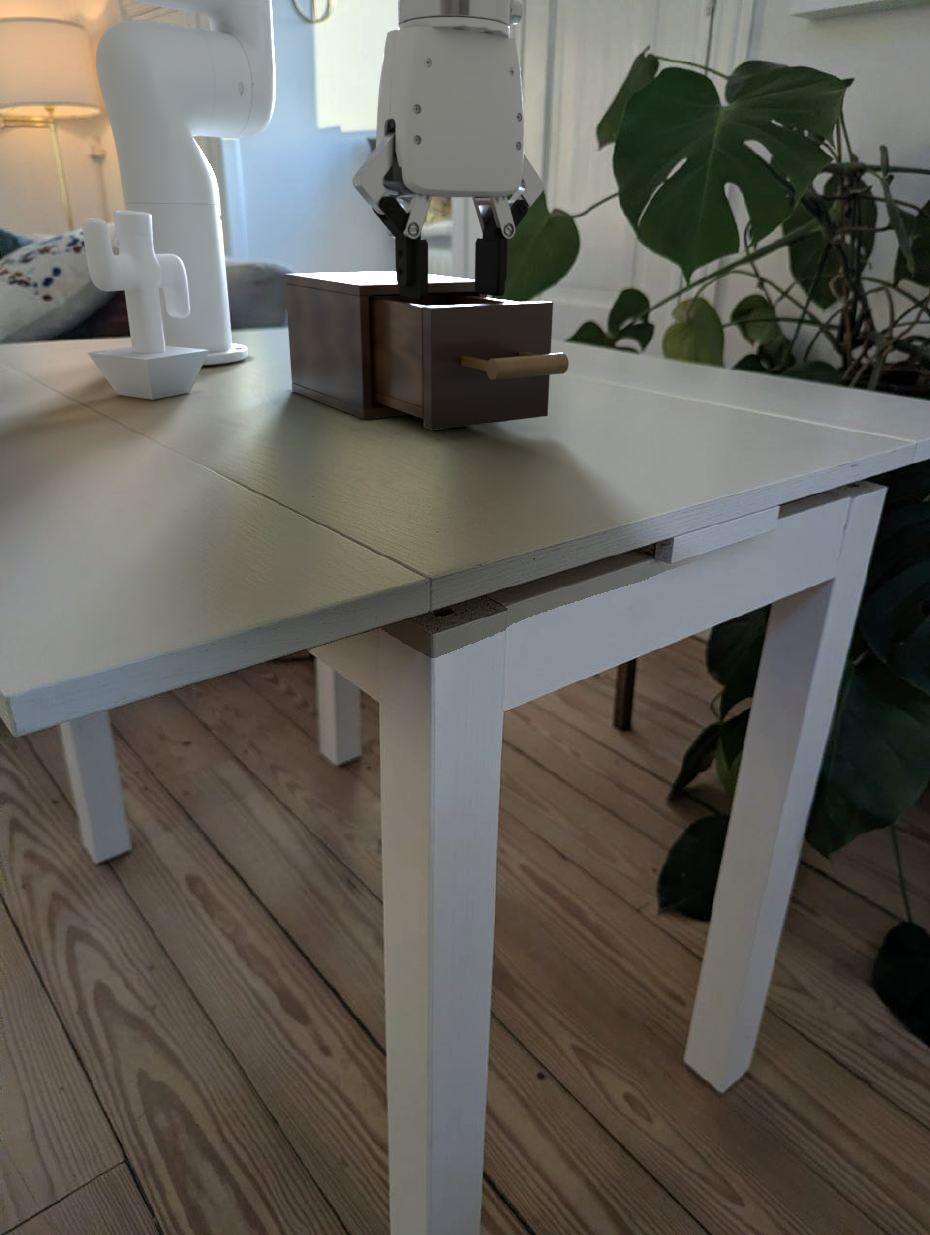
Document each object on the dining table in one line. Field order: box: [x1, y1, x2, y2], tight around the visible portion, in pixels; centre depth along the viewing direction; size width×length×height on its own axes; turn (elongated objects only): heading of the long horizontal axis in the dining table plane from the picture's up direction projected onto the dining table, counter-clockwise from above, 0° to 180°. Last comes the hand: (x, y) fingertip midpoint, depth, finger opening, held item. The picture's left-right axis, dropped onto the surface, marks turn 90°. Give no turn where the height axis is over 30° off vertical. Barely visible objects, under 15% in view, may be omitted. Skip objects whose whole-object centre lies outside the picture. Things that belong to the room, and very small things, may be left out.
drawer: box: [369, 293, 570, 431], centre depth 69 cm, size 18×10×8 cm, turn 33°
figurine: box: [81, 209, 209, 401], centre depth 78 cm, size 7×9×15 cm
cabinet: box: [284, 270, 488, 421], centre depth 78 cm, size 15×12×10 cm
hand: (452, 293), depth 68 cm, fingers open, 6 cm apart
